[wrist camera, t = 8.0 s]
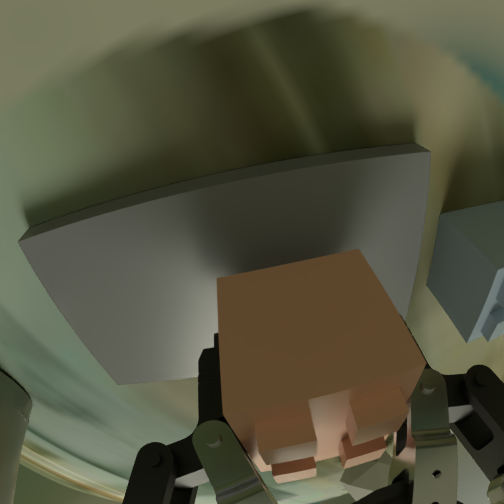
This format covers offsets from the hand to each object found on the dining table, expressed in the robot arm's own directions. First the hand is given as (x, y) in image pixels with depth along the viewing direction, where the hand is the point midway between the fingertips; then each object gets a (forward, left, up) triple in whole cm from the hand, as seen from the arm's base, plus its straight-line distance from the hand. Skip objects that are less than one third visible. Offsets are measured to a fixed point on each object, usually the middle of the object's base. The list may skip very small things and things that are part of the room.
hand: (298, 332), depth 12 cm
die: (+29, -27, -4) cm, 40 cm away
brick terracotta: (0, 0, -1) cm, 1 cm away
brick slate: (+10, +6, -4) cm, 13 cm away
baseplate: (-2, -1, -4) cm, 4 cm away
